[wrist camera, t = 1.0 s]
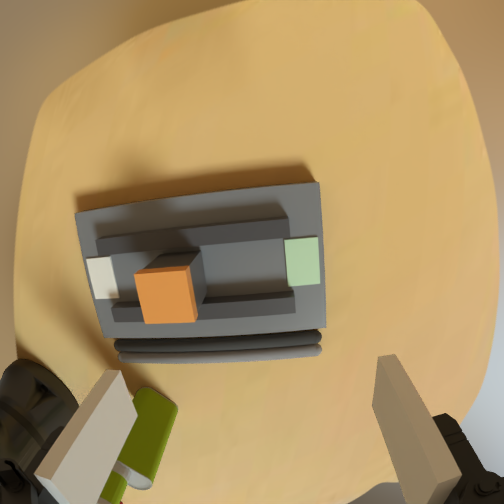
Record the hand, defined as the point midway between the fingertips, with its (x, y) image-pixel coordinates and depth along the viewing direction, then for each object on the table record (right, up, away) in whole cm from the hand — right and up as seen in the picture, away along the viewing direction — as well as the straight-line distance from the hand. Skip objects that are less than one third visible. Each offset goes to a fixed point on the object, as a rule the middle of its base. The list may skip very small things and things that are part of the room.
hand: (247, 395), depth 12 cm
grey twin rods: (-4, -5, +22) cm, 23 cm away
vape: (-12, -13, +25) cm, 31 cm away
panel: (-5, +5, +20) cm, 21 cm away
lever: (-6, +4, +18) cm, 19 cm away
